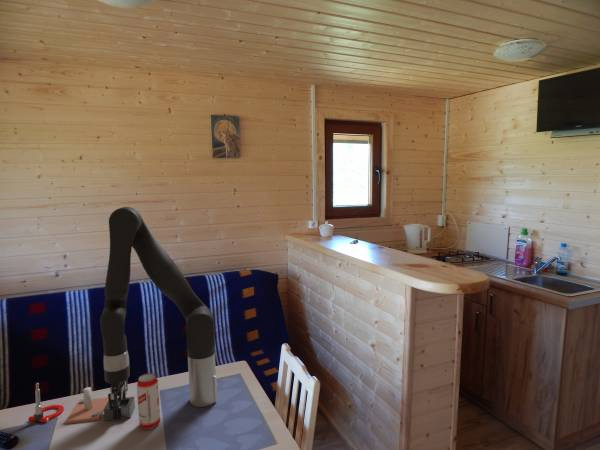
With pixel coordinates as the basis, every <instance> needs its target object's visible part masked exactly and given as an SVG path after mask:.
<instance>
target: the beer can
mask: <svg viewBox="0 0 600 450" xmlns="http://www.w3.org/2000/svg"><path fill="white" fill-rule="evenodd" d="M136 389H137V390H136V391H137V392H136V393H137V408H138V421H139V423H138V424H139V427H140V428H142V430H152V429H154V428H156V427H157V426H158V425H159V424H160V422H161V408H160V394H159V393H160V391H159V380H158V378H157V376H156V374H155V373H144V374H142V375H140V376H139V377H138V381H137V384H136Z"/></svg>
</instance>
